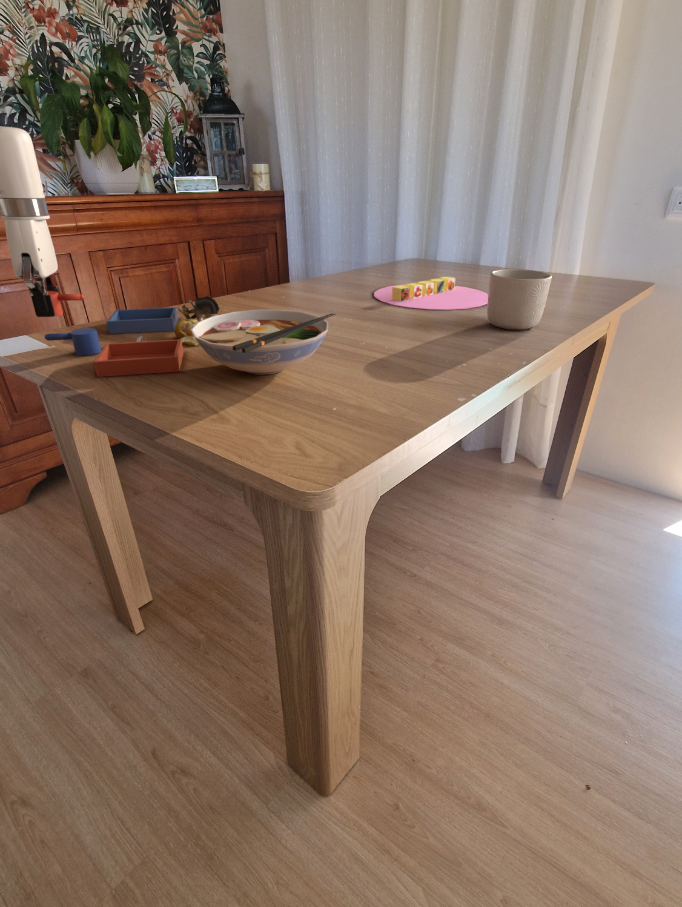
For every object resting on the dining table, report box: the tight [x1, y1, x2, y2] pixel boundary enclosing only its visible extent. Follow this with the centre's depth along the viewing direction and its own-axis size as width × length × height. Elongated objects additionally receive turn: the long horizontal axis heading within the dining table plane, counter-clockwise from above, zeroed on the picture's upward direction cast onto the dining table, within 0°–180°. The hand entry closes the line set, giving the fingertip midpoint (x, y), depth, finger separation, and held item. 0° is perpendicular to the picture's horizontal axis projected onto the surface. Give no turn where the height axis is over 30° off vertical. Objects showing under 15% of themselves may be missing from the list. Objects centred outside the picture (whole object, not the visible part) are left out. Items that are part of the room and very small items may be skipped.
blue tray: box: [106, 306, 179, 335], centre depth 109 cm, size 13×10×3 cm
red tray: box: [93, 339, 185, 378], centre depth 87 cm, size 13×10×3 cm
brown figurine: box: [177, 295, 221, 322], centre depth 109 cm, size 8×7×9 cm
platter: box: [373, 276, 489, 311], centre depth 136 cm, size 32×32×3 cm
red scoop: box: [48, 291, 85, 317], centre depth 97 cm, size 9×4×4 cm, turn 101°
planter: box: [486, 268, 553, 331], centre depth 108 cm, size 12×12×11 cm
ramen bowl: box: [191, 309, 336, 376], centre depth 84 cm, size 25×23×8 cm
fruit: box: [173, 318, 200, 346], centre depth 100 cm, size 8×8×4 cm
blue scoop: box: [44, 327, 102, 357], centre depth 92 cm, size 9×4×4 cm, turn 101°
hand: (49, 312), depth 97 cm, fingers closed on red scoop, 4 cm apart
